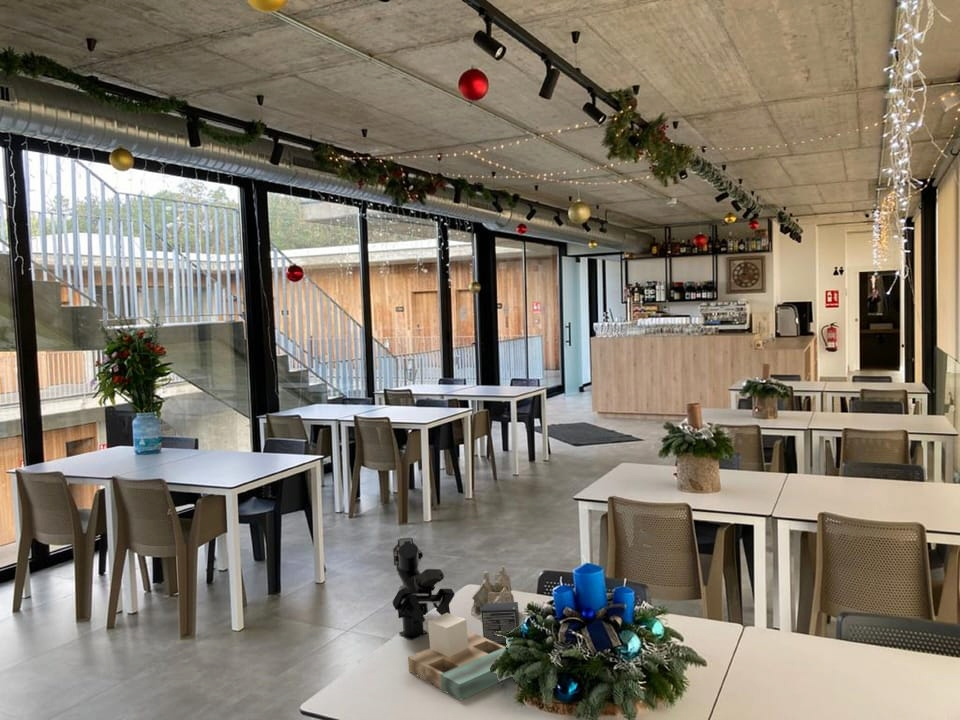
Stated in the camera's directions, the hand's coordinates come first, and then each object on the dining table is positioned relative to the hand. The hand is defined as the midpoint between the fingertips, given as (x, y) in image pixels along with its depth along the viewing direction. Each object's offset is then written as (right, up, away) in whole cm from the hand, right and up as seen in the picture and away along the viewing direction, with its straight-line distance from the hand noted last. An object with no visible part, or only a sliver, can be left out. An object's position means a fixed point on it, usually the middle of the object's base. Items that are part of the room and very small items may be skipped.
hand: (437, 620), depth 211 cm
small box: (+18, -10, +11) cm, 23 cm away
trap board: (+8, -11, -7) cm, 15 cm away
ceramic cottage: (+16, -9, +31) cm, 36 cm away
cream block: (+3, -7, -2) cm, 8 cm away
